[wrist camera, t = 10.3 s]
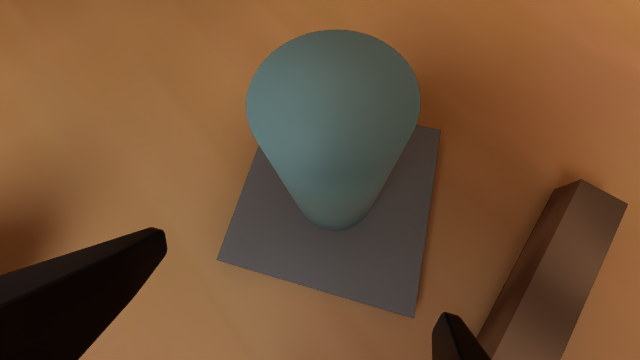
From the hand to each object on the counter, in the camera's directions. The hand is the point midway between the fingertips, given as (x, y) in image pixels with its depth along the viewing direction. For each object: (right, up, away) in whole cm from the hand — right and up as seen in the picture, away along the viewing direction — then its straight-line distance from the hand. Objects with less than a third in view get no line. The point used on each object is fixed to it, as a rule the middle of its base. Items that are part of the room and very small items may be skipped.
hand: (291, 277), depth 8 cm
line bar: (+12, -4, +7) cm, 15 cm away
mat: (+2, +2, +10) cm, 10 cm away
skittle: (+2, +2, +9) cm, 9 cm away
